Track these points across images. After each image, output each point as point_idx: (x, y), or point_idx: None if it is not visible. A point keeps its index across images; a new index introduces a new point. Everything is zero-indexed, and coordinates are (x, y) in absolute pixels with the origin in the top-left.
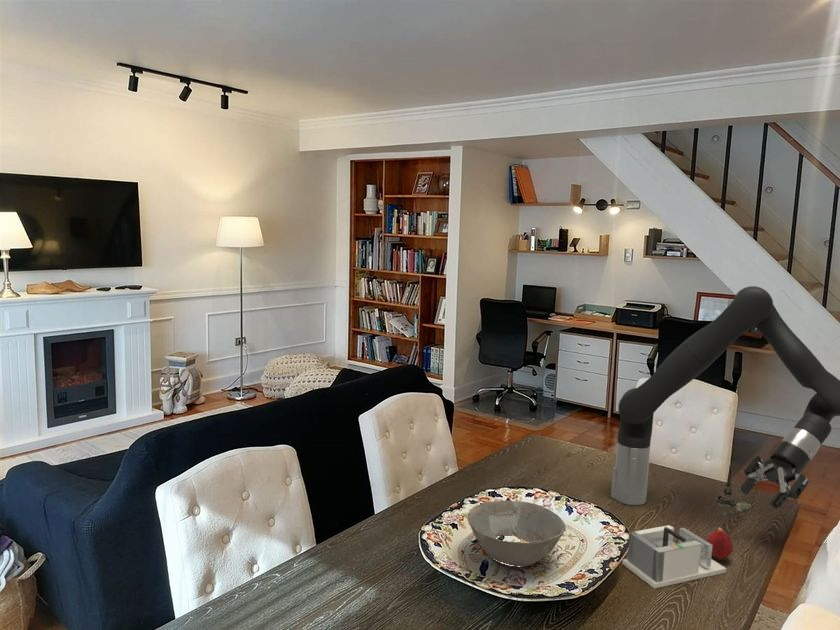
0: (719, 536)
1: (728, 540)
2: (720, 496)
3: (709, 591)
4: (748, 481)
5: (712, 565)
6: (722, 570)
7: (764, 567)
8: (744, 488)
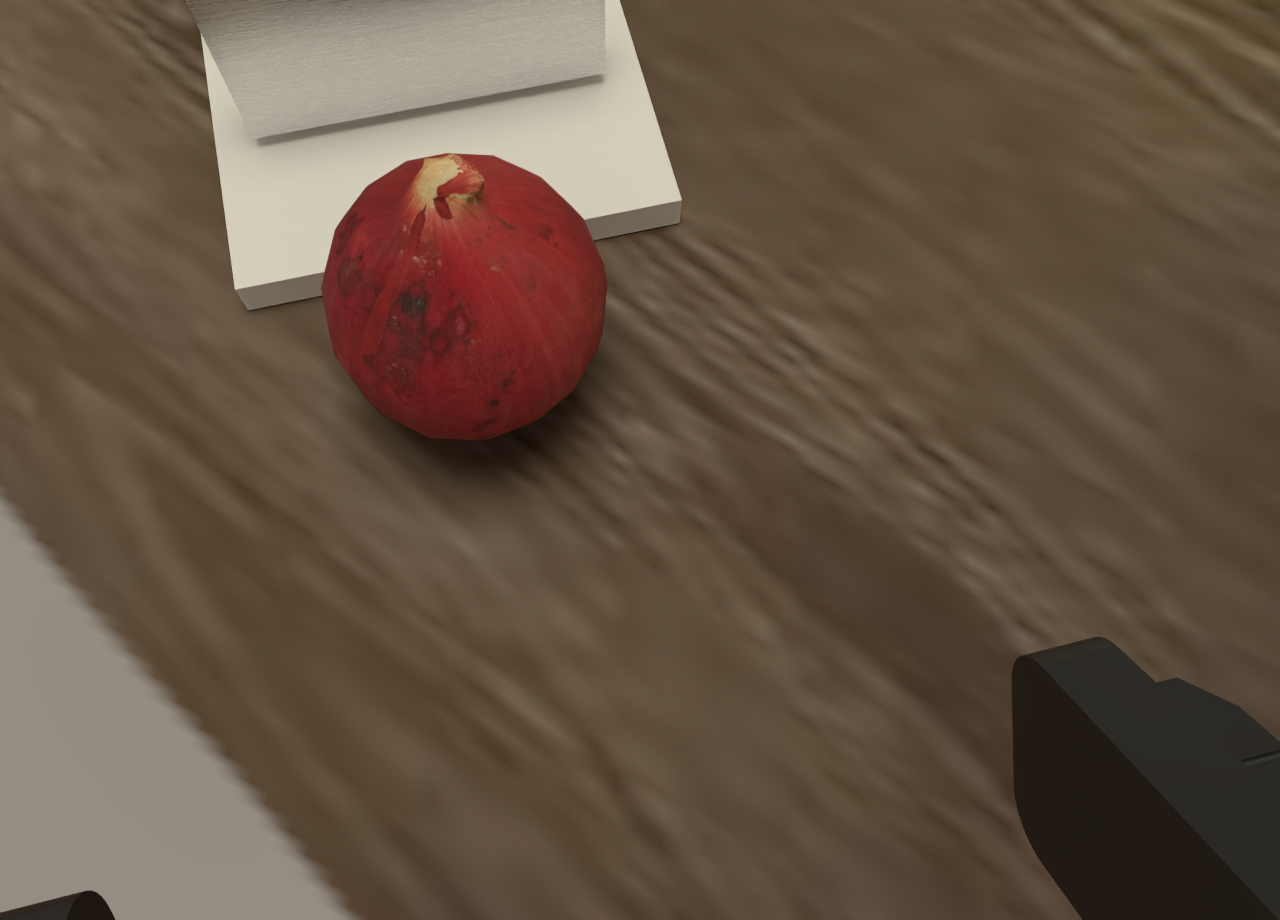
0: (392, 181)
1: (347, 284)
2: None
3: (29, 36)
4: (1263, 856)
5: (311, 200)
6: (232, 253)
7: (254, 764)
8: (1052, 689)
